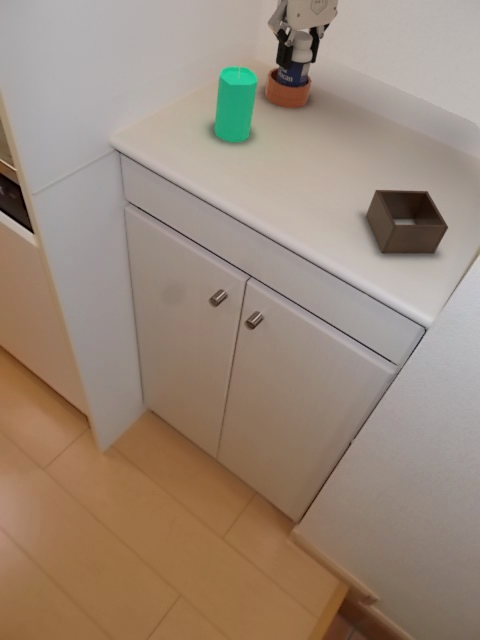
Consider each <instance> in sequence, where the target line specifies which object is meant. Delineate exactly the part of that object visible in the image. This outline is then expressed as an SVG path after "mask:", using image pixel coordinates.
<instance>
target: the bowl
mask: <svg viewBox="0 0 480 640" xmlns="http://www.w3.org/2000/svg"><path fill="white" fill-rule="evenodd" d="M278 70H279V67H275V68H273V69H270V70H269V71H268V74H267V78H266V84H265V90H264V96H265V98H266V99H267V100H268V101H269V102H270V103H272V104H273V105H276V106H277V107H278V106H279V107H282V108H288V109H296V108H301V107H304V106H305V105H306V104H307V102H308V99H309V95H310V91H311V86H312V78H311V77H310V75H309V74H308V75H307V79H306V83H305V86H303V87H288V86H284V85H281V84H279V83H277V82H276V79H277V74H278Z"/></svg>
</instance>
